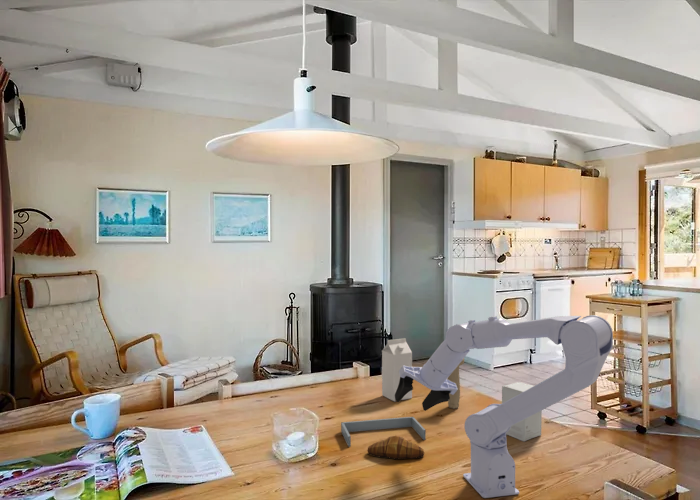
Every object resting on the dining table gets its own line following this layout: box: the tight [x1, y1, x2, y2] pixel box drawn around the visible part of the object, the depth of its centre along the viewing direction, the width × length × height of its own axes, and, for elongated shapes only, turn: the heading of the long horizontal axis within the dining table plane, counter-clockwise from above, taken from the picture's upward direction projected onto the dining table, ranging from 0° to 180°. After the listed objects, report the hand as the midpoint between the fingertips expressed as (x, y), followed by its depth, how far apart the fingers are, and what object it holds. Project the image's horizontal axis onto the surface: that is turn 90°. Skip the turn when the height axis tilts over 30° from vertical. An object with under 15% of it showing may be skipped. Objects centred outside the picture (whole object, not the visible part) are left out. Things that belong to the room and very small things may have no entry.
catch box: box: [340, 416, 427, 447], centre depth 125 cm, size 10×20×2 cm, turn 102°
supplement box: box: [501, 381, 543, 442], centre depth 126 cm, size 7×7×13 cm
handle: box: [447, 357, 465, 409], centre depth 147 cm, size 5×6×15 cm
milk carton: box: [381, 337, 413, 402], centre depth 156 cm, size 7×7×19 cm
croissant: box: [366, 435, 425, 460], centre depth 114 cm, size 14×7×5 cm, turn 83°
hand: (410, 402), depth 114 cm, fingers open, 7 cm apart
